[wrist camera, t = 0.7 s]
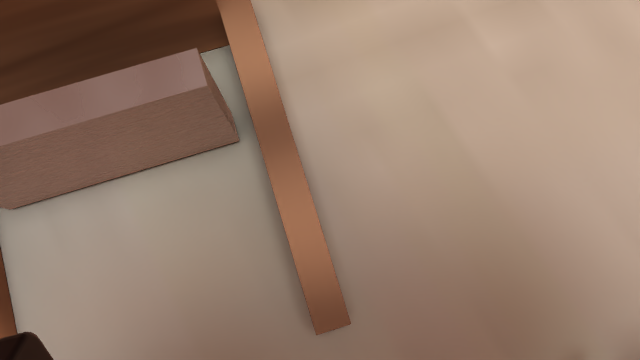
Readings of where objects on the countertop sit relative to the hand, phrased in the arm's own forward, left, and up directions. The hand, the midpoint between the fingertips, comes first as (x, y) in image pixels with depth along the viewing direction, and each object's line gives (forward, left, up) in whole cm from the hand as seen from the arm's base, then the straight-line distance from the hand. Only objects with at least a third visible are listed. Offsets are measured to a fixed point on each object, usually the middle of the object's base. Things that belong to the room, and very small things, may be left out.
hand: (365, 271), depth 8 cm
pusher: (+6, +8, -13) cm, 17 cm away
